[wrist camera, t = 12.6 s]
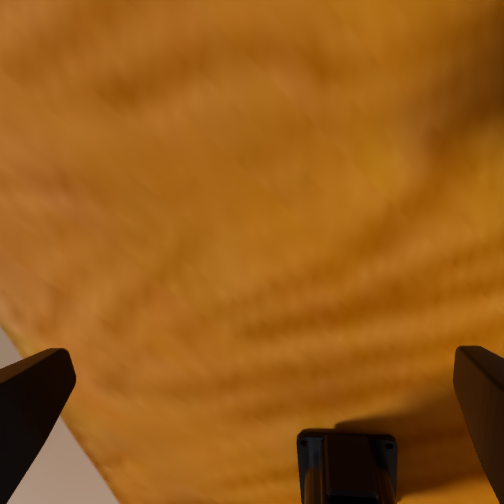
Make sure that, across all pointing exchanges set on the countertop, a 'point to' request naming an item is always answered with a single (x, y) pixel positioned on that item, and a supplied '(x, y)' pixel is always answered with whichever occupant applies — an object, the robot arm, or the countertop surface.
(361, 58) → the countertop surface
